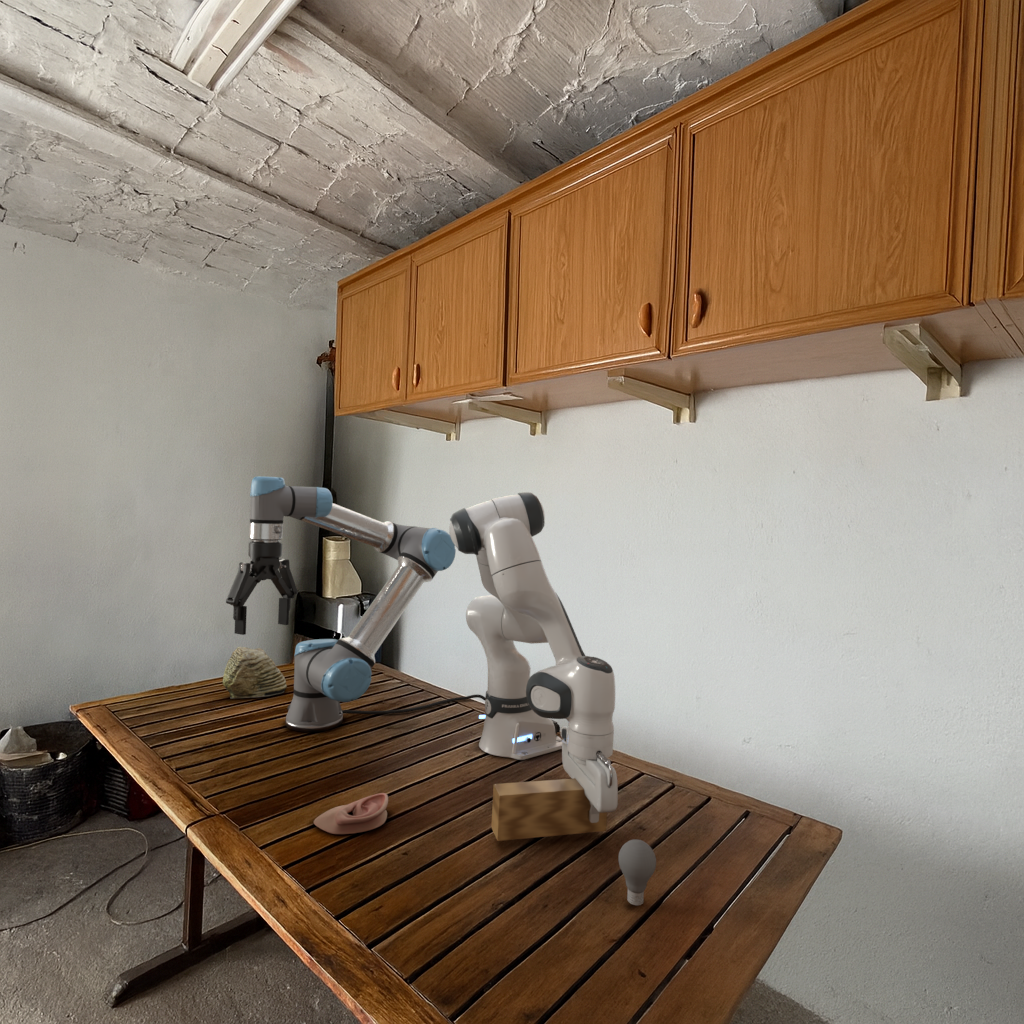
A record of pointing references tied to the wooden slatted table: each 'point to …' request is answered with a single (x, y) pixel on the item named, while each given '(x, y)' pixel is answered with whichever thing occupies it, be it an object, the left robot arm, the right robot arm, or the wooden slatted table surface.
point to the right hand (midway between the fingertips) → (586, 812)
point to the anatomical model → (355, 816)
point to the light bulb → (636, 868)
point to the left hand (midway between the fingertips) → (262, 629)
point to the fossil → (252, 674)
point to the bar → (542, 810)
